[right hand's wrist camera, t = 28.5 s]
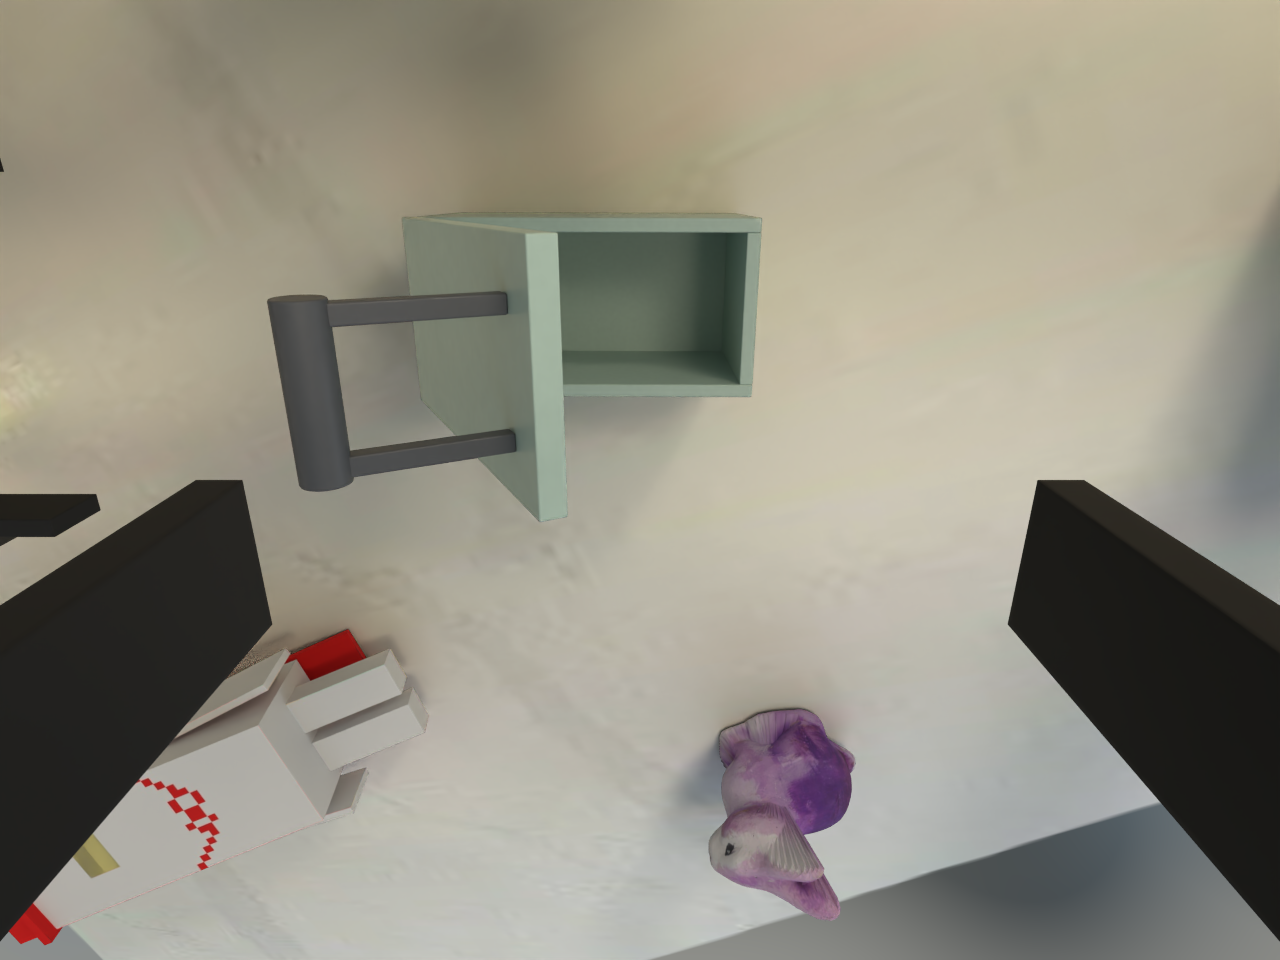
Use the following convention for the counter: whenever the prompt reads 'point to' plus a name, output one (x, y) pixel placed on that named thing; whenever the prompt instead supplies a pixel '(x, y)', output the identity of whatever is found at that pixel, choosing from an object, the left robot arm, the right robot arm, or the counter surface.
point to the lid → (445, 362)
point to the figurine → (781, 806)
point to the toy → (240, 776)
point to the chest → (652, 300)
